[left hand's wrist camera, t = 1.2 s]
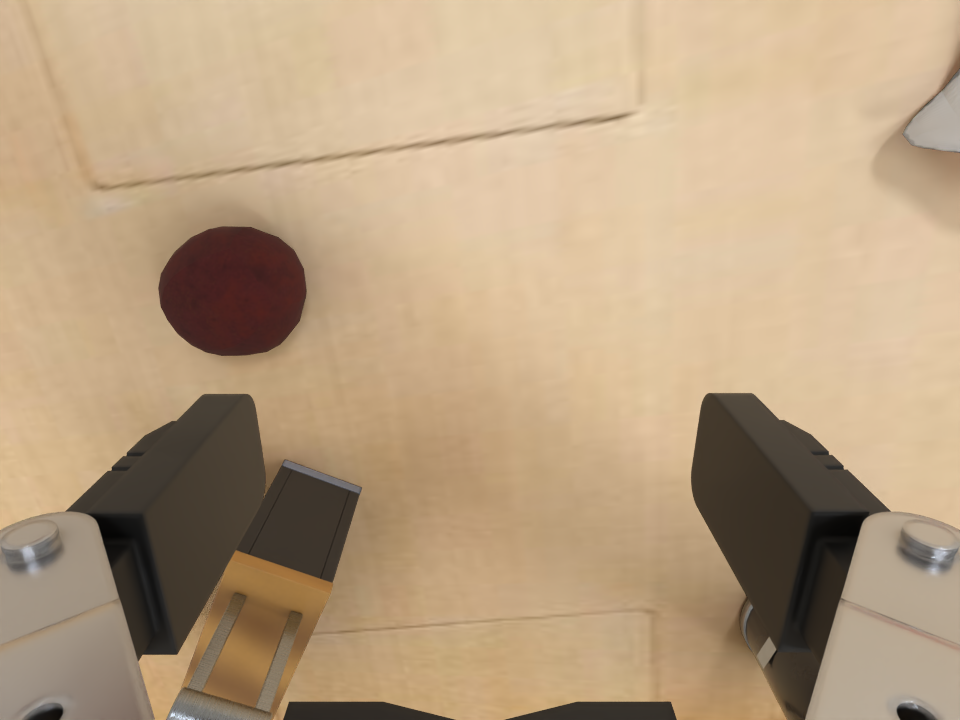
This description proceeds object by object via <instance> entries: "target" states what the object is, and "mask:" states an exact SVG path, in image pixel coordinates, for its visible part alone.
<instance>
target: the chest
mask: <svg viewBox="0 0 960 720" xmlns="http://www.w3.org/2000/svg"><path fill="white" fill-rule="evenodd" d="M361 489H362V488H361V487H358V486H356V485H353V484H350V483H348V482H345V481H342V480H339V479H337V478H334V477H331V476H328V475H326V474H323V473H320V472H318V471H315V470H312V469H309V468H307V467H304V466H301V465H298V464H296V463H293V462H290V461H288V460H284V462H283V464H282V466H281V468H280V470H279V472H278V474H277V475H276V477H275V479H274V481H273V483H272V484H271V486H270V488H269V490H268V492H267V494H266V495H265V497H264V499H263V501H262V504H261V506H260V508H259V510H258V512H257V513H256V515H255V517H254V519H253V521H252V522H251V524H250V526H249V528H248V529H247V531H246V533H245V535H244V537H243V538H242V540H241V542H240V544H239V545H238V547H237V549H236V550H237V551H240V552H242V553H245V554H248V555H251V556H254V557H257V558H260V559H263V560H266V561H269V562H272V563H275V564H278V565H281V566H284V567H287V568H290V569H293V570H296V571H299V572H302V573H305V574H308V575H311V576H314V577H316V578H319V579H322V580H325V581H328V582H331V583H333V580H334V576H335V573H336V570H337V567H338V563H339V560H340V557H341V554H342V550H343V547H344V544H345V540H346V537H347V534H348V531H349V527H350V524H351V521H352V518H353V514H354V511H355V508H356V504H357V501H358V498H359V495H360V492H361Z"/></svg>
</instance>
